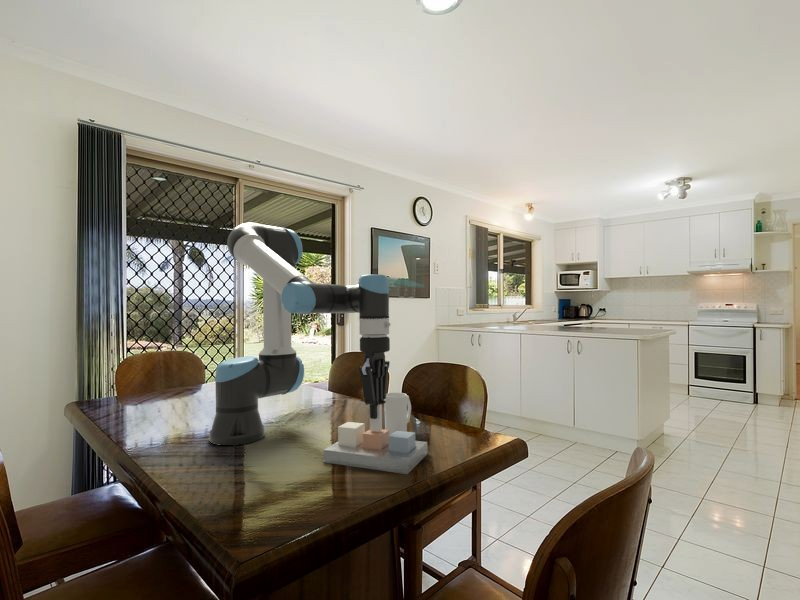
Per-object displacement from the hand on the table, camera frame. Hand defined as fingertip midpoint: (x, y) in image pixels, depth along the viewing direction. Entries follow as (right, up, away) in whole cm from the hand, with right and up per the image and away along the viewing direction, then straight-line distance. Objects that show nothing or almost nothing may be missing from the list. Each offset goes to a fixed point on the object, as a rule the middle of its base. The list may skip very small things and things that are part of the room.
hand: (376, 430), depth 102 cm
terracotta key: (0, -5, 0) cm, 5 cm away
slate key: (+7, -5, -3) cm, 9 cm away
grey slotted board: (0, -7, 0) cm, 7 cm away
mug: (+6, -8, +19) cm, 21 cm away
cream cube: (-6, -5, +2) cm, 8 cm away
